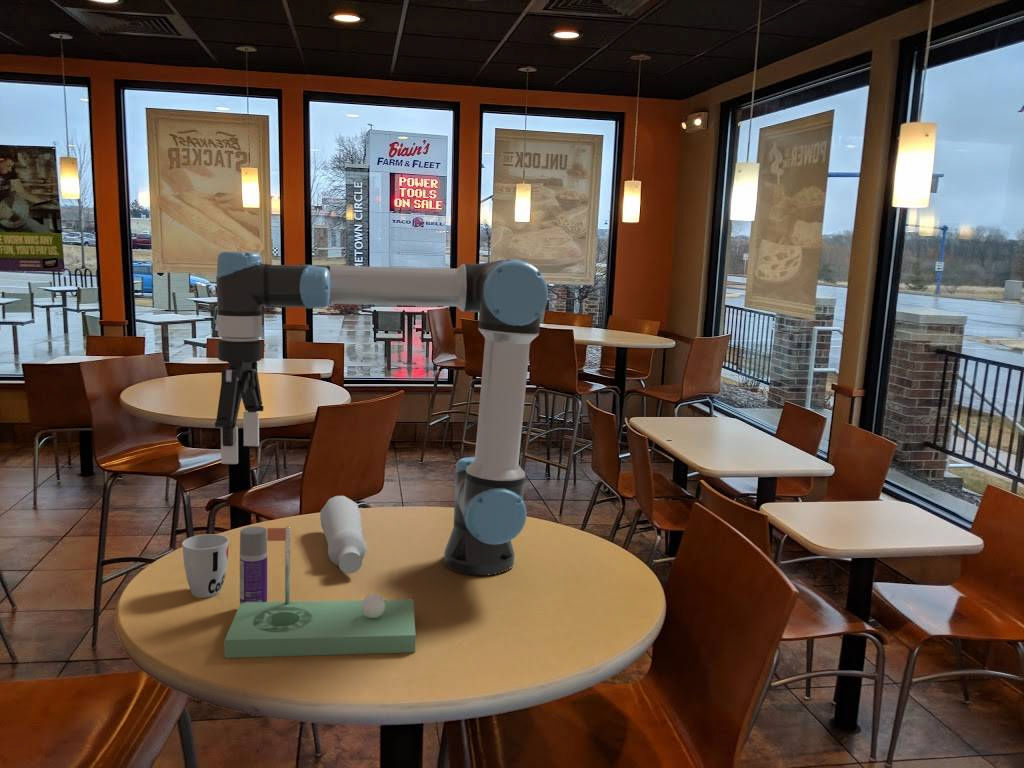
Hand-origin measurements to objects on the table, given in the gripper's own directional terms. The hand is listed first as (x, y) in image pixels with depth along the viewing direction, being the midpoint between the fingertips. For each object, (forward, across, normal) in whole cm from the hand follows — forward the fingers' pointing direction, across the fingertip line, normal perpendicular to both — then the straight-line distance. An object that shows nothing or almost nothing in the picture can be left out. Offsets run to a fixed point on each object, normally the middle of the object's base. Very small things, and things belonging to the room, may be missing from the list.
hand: (241, 454), depth 145 cm
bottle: (+28, -23, +15) cm, 39 cm away
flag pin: (+24, +10, +9) cm, 28 cm away
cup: (+27, 0, -7) cm, 28 cm away
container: (+27, +7, +4) cm, 28 cm away
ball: (+22, +15, +26) cm, 37 cm away
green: (+27, +16, +18) cm, 36 cm away
